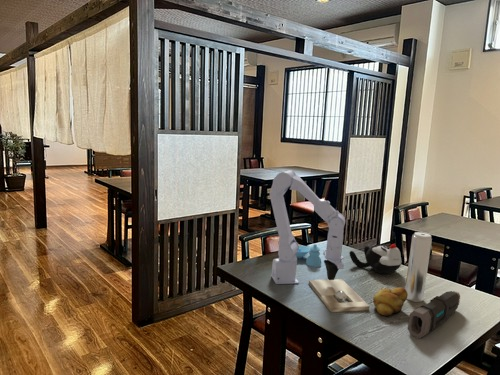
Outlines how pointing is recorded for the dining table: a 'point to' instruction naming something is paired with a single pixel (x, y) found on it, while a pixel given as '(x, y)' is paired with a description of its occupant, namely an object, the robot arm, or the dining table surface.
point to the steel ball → (340, 296)
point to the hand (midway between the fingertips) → (330, 279)
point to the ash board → (327, 295)
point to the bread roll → (390, 300)
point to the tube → (432, 313)
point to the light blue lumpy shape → (314, 255)
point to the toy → (380, 258)
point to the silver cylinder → (418, 266)
